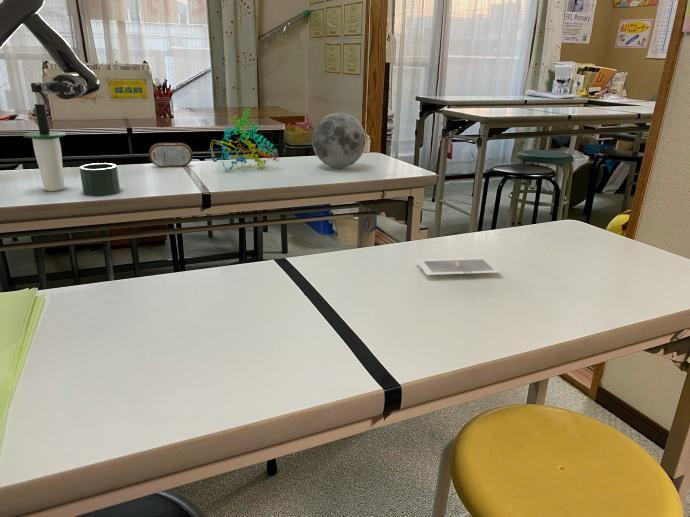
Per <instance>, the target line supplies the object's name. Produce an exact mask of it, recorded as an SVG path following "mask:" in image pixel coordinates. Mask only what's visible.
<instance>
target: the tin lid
mask: <svg viewBox="0 0 690 517" xmlns="http://www.w3.org/2000/svg"><path fill="white" fill-rule="evenodd" d="M34 109H35V117H36V121H37V126H38V131H30V132H26V133H23V137H24V138H26V139H27V138H29V139H31V140H33V139H55V138H59V139H60V138H61V137H65V136H67V133H66V132H65V131H55V130H53V131H51V130H50V125H49V119H48V118H49V117H48V113H47V107H46V104H45V103H34Z"/></svg>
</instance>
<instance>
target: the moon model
mask: <svg viewBox="0 0 690 517" xmlns="http://www.w3.org/2000/svg"><path fill="white" fill-rule="evenodd" d="M366 137H367V136H366V132H365V130H364V128H363V125H362V124H361V123H360V121H359V120H358V119H357V118H356V117H354V116H352V115H351V114H348V113H344V112H334V113H330V114H328V115H326V116H324V117H323V118H321V119H320V120H319V121H318V122H317V124H316V125H315V127H314V129H313V132H312V135H311V139H312V140H311V142H312V148H313V152H314V153H315V156H316V157H317V158H318V160H320V161H321V162H322V163H323V164H324V165H326V166H328V167H331V168H337V169H342V168H347V167H349V166H352V165H354V164H355V163H356V162H358V161H359V160H360V159H361V157H362V155H363V154H364V152H365V149H366V144H367V138H366Z"/></svg>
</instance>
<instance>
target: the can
mask: <svg viewBox="0 0 690 517" xmlns="http://www.w3.org/2000/svg"><path fill="white" fill-rule="evenodd" d="M78 169H79V174H80V181H81V187H82V192H83V195H86V196H90V197H105V196H112V195H116V194H118V193H120V191H121V187H120V180H119V173H118V166H117V165H116V164H115V163H107V162H104V163H102V162H101V163H99V162H97V163H88V164H84V165H80V166H79V168H78Z"/></svg>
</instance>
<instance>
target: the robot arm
mask: <svg viewBox="0 0 690 517" xmlns="http://www.w3.org/2000/svg"><path fill="white" fill-rule="evenodd" d="M45 1H46V0H2V1H1V2H0V49H1V48H2V47H3V46H4V45H5V44H6V43H7V42H8V40H9V39H10V38H11V37H12V36H13V35H14V34H15V33H16V32H17V30H18V29H19V28H20V27H21V26H22V25H24V26H25V27H26V29H27V30H29V32H30V33H31V34H32V35H33V36H34V37H35V38H36V40H37V41H38V42H39V43H40V44H41V46H42V47H43V48H44V49H45V51H46V52H47V53H48V54H49V56H50V57H51V59H52V60H53V62H54V63H55V64H56V66H57V67H58V69H59V70H60V71H61V72H62V73H63V74H57V75H56V76H54V77H53V78H52V80H51V81H43V82H41V81H40V82H32V83H31V82H30V89H31V93H35V94H37V93H39V94H40V93H44V94H46V95H47V94H48V95H50V94H51V95H52V94H53V95H55V96H56V97H58V98H59V99H62V100H73V99H76V98H77V99H78V98H82V97H85V96H87V95H90V94H92V93H95V92H97V91H99V90H100V88H101V83H100V80H99V78H98V77H97V75H95V73H94V72H93V71H92V70H90V69H89V68H88V67H87V66H86V65H85V64H84V63H83V62H82V61H81V60H80V58H78V56H77V55H76V53H75V52H74V50H73V49H72V47H71V46H70V45H69V43H68V42H67V41H66V40H65V38H63V37H62V35H60V34H59V33H58V32H57V31H56V30H55V29H53V27H51V26H50V25H49V24H48V23H47V21H45V20H44V19H43V18H42V16H41V15H40V14H39V12H40V10H41V9H42V8H43V6H44V4H45ZM72 73H75V74H72Z"/></svg>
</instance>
